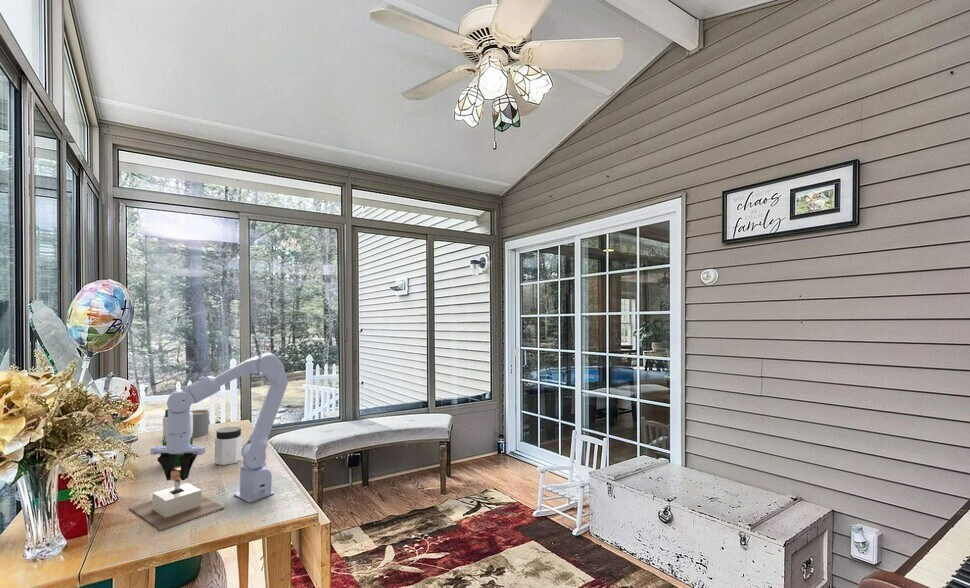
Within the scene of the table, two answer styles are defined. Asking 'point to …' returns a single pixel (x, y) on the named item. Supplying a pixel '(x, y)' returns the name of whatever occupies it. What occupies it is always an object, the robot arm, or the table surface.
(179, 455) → the milk carton
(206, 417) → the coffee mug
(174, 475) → the plunger
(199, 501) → the hollow square block
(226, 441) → the jar
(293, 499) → the table surface
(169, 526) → the board
